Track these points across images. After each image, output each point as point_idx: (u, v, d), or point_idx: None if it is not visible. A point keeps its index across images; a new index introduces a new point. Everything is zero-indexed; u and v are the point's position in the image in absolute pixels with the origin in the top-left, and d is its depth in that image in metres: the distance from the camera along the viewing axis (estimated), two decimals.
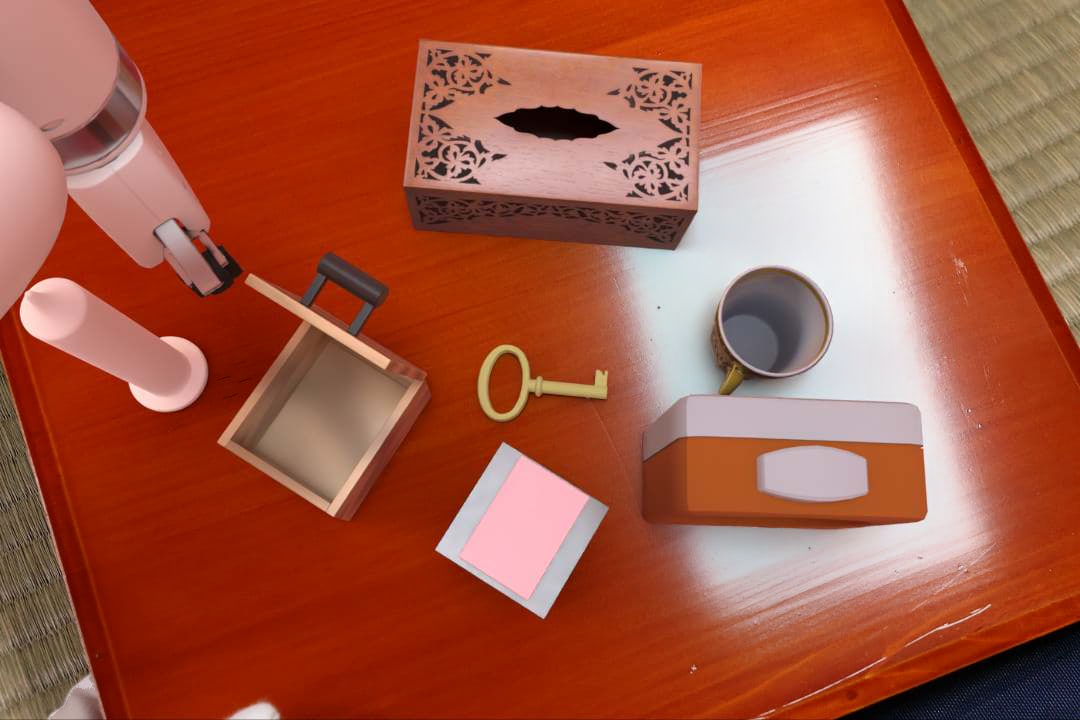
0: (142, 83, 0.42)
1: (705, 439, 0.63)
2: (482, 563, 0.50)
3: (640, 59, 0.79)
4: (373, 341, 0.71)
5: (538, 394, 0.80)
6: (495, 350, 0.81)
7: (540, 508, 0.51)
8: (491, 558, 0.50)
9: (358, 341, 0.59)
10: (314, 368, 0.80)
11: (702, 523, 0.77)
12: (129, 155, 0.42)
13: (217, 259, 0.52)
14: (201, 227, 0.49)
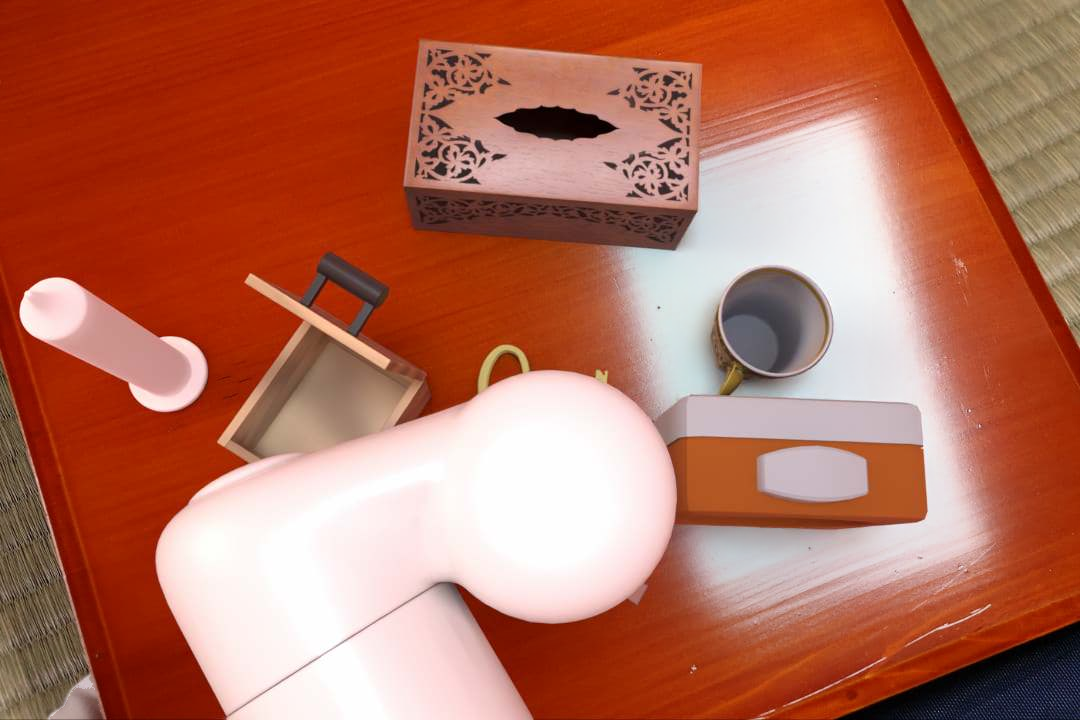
0: None
1: (705, 439, 0.63)
2: None
3: (640, 59, 0.79)
4: (373, 341, 0.71)
5: None
6: (495, 350, 0.81)
7: None
8: None
9: (358, 341, 0.59)
10: (314, 368, 0.80)
11: (702, 523, 0.77)
12: None
13: None
14: None
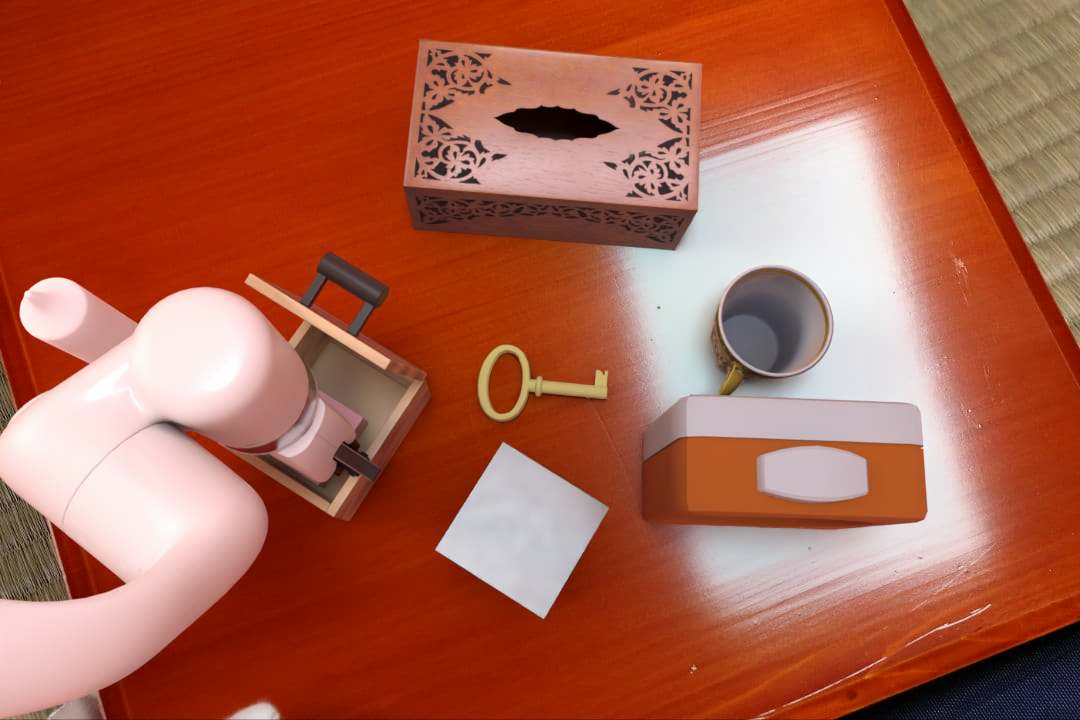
0: (307, 364, 0.58)
1: (705, 439, 0.63)
2: None
3: (640, 59, 0.79)
4: (373, 341, 0.71)
5: (538, 394, 0.80)
6: (495, 350, 0.81)
7: None
8: None
9: (358, 341, 0.59)
10: (314, 368, 0.80)
11: (702, 523, 0.77)
12: (320, 417, 0.58)
13: (354, 447, 0.68)
14: None
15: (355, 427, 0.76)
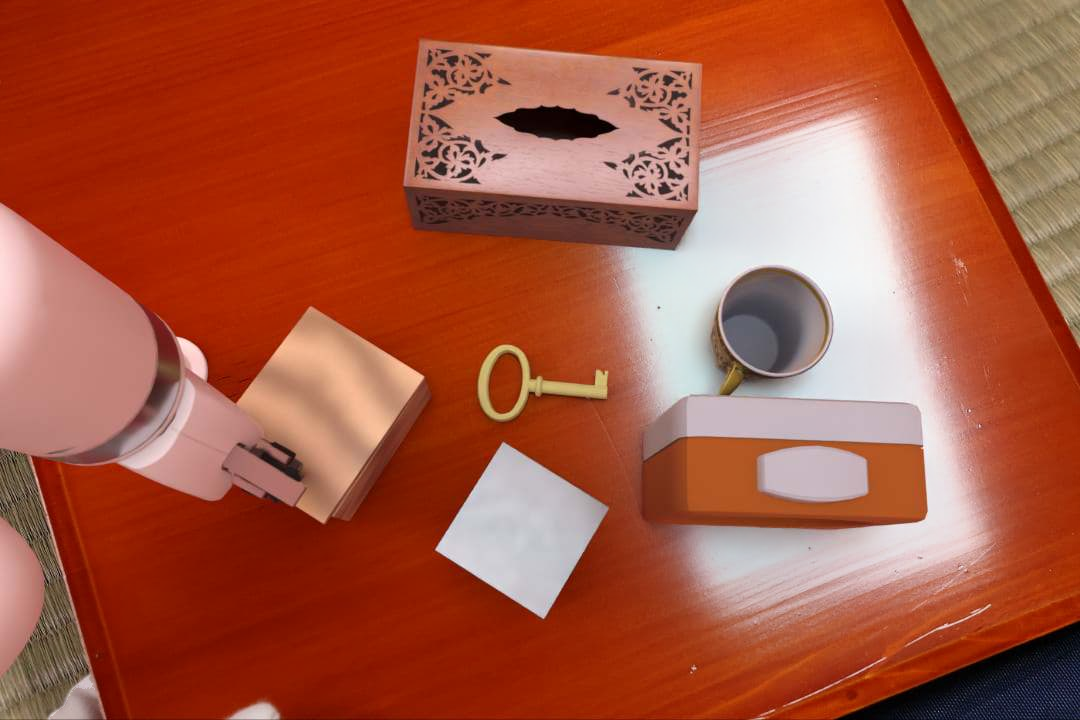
0: (168, 327, 0.38)
1: (706, 439, 0.63)
2: None
3: (640, 59, 0.79)
4: (360, 370, 0.72)
5: (538, 394, 0.80)
6: (495, 350, 0.81)
7: None
8: None
9: (296, 506, 0.69)
10: None
11: (702, 523, 0.77)
12: (186, 408, 0.38)
13: (280, 459, 0.48)
14: (259, 437, 0.45)
15: None
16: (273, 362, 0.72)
